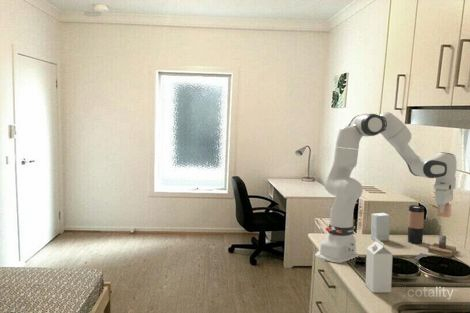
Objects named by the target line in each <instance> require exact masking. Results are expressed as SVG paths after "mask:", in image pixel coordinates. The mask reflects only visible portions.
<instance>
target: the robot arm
mask: <svg viewBox="0 0 470 313" xmlns="http://www.w3.org/2000/svg"><path fill="white" fill-rule="evenodd" d="M379 134H381V135H382V136H383V137H384V139H385V140H386V142H388V143H389V144H390V146H392V147H393V148H394V149H395V151H396V153H398V155H400V157H401V158H402V159H403V160H404V161H405V163H406V165H407V169H408V171H409V173H411V174H412V176H415V177H422V178H426V179H427V178H428V179H435V182H434V185H433V189H434V202H435V204H436V205H437V206H438V205H440V212H441V213H444V212H445V204H450V202H452V201H453V199H454V190H455V189H456V187H457V184H456V182H457V177H456V173H457V165H458V164H457V157H456V154H453V153H450V152H445V151H439V152H438V153H437V154H436V155H434V156H432V157H429V158H424V157H421V156H419V155H417V154H416V152H415V151H414V150H413V149H412V148H411V146H410V144H409V143H410V142H411V140H412V133H411V131H410V129H409V127H407V125H406V124H405V123H404V122H403V121H402V120H400V119H399V118H398V117H397V116H396V115H395V114H393V113H392V112H390V111H385V112H383V113H380V114H377V113H363V114H358V115H356V116H354V117H352V119H351V120H350V123H349V124H347V125H344V126H342V127H341V128H340V129H339V130H338V134H337V138H336V141H335V148H334V156H333V162H332V166H331V168H330V171H329V174H328V175H327V176H326V177H325V179H324V181H323V186H324V189H325V190H326V191H327V192H328V194H330V195H332V196H335V197H334V198H335V199H334V203H333V206H331V208H330V211H329V224H328V226H326V227H325V231H326V232H327V234H326V235H325V237H324V238H323V239H322V242H321V243H320V247H319V250H318V251H317V252H315V254H314V257H316V258H317V259H320V260H322V261H327V262H332V263H337V264H341V263H344V262H348V261H351V260H353V258H354V259H356V258H355V257H357V258H359V257H360V255H359V253H357V239H356V238H355V236H354V233H355V232H354V230H355V228H354V212H355V210H354V209H355V207H356V203H357V201H358V199H359V198H361V197H362V194H363V191H364V190H363V185H362V183H360V181H359V180H357V179H355V178H353V177H351V174H352V172H353V169H354V168H355V167H357V165H358V157H359V149H360V141H361V140H362V138H363V137H375V136H377V135H379ZM358 256H359V257H358ZM350 259H351V260H350Z"/></svg>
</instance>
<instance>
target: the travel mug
mask: <svg viewBox="0 0 470 313" xmlns="http://www.w3.org/2000/svg"><path fill="white" fill-rule="evenodd" d="M424 219H425V207H424V206H422V205H417V204H416V205H415V204H414V205H413V204H411V205H410V206H408V221H407V242H408V243H410V244H413V245H422V244H423V241H424V240H423V238H424V224H425V223H424V222H425V220H424Z"/></svg>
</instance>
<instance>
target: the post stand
mask: <svg viewBox="0 0 470 313" xmlns="http://www.w3.org/2000/svg"><path fill="white" fill-rule="evenodd" d="M438 236H439V239H438V240H439V241H438V243H437V242H434V243H432V245H430V246H429V247H428V249H427V253H430V254H436V255H439V256H444V257H445V256H446V257H449V258H451V257H452V255H454V254H455V253H456V252H457V247H456V246H453V245H447V236H446V235H443V234H441V235H438Z"/></svg>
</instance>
